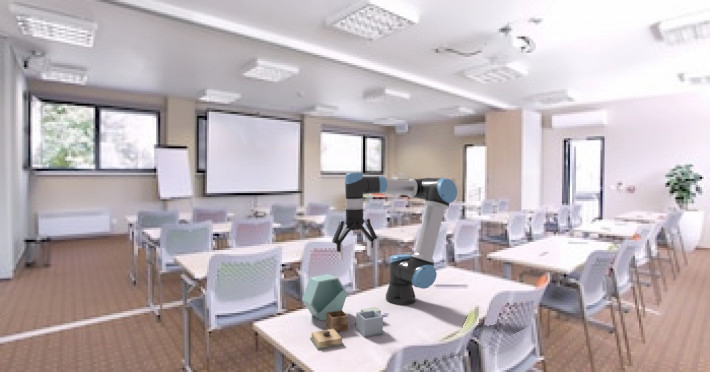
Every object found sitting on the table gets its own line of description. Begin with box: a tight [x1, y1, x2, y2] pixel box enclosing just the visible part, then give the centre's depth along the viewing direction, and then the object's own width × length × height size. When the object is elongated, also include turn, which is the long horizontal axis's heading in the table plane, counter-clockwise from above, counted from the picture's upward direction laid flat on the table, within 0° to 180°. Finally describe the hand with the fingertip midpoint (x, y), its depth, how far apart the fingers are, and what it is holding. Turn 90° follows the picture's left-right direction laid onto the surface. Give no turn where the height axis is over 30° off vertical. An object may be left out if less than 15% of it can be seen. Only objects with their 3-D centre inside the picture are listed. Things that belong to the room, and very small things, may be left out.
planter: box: [301, 273, 348, 321], centre depth 164 cm, size 17×8×21 cm
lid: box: [311, 329, 343, 348], centre depth 138 cm, size 9×9×3 cm
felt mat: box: [309, 336, 344, 351], centre depth 138 cm, size 10×10×1 cm
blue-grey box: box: [355, 310, 384, 338], centre depth 148 cm, size 8×8×7 cm
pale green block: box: [360, 306, 382, 316], centre depth 159 cm, size 7×5×5 cm
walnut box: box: [325, 309, 349, 333], centre depth 151 cm, size 7×7×6 cm
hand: (355, 257), depth 158 cm, fingers open, 13 cm apart
